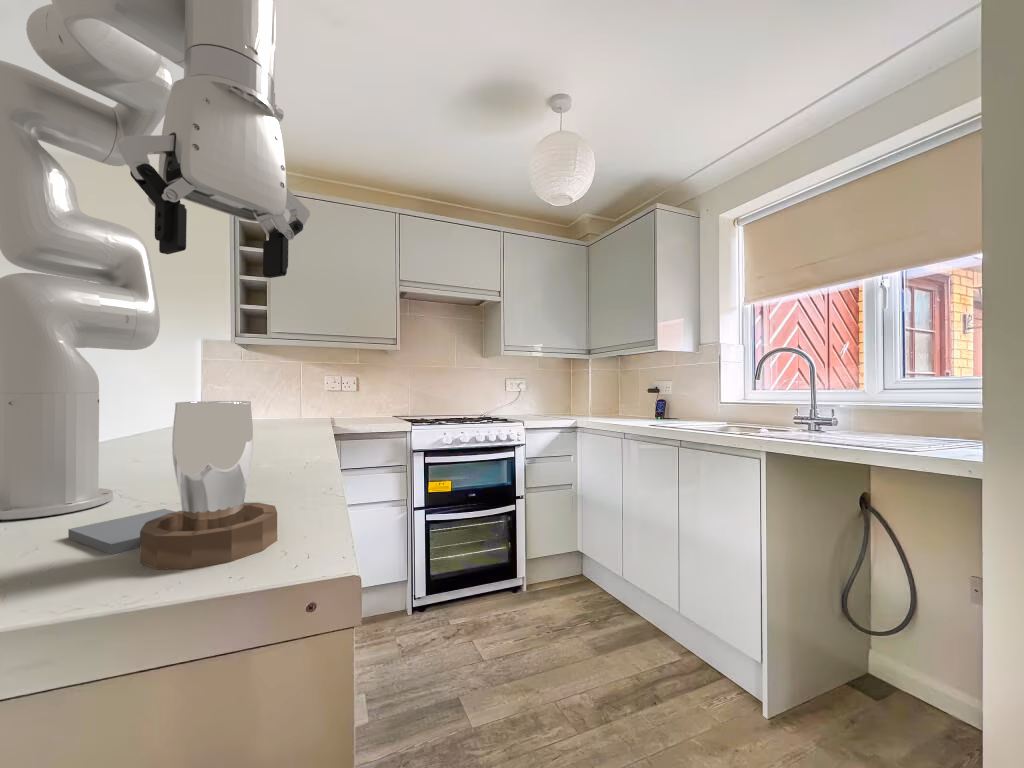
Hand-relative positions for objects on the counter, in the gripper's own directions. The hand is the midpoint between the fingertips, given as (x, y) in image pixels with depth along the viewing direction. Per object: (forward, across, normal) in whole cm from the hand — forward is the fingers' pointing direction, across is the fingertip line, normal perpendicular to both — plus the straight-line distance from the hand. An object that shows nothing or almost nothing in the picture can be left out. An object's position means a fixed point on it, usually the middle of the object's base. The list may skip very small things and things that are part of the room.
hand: (228, 265), depth 44 cm
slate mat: (+29, +1, -15) cm, 32 cm away
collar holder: (+29, -1, -3) cm, 29 cm away
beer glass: (+29, -1, -3) cm, 29 cm away
